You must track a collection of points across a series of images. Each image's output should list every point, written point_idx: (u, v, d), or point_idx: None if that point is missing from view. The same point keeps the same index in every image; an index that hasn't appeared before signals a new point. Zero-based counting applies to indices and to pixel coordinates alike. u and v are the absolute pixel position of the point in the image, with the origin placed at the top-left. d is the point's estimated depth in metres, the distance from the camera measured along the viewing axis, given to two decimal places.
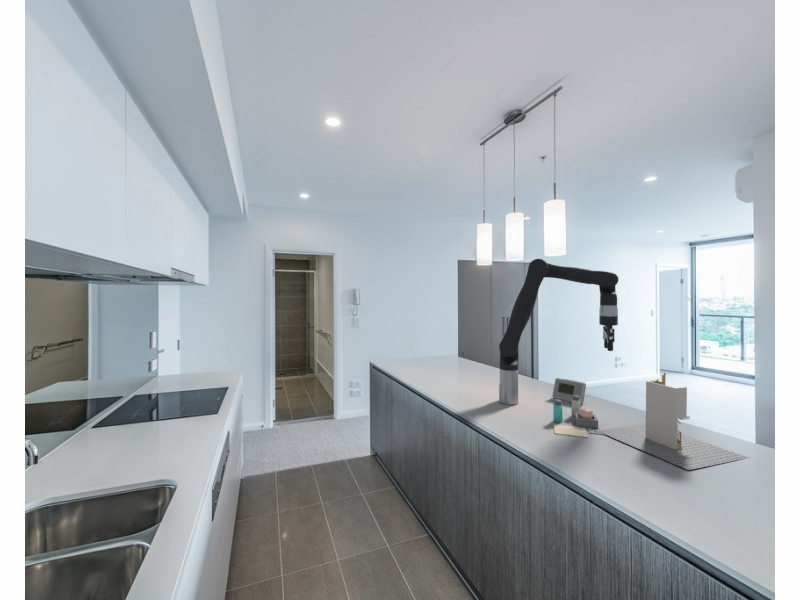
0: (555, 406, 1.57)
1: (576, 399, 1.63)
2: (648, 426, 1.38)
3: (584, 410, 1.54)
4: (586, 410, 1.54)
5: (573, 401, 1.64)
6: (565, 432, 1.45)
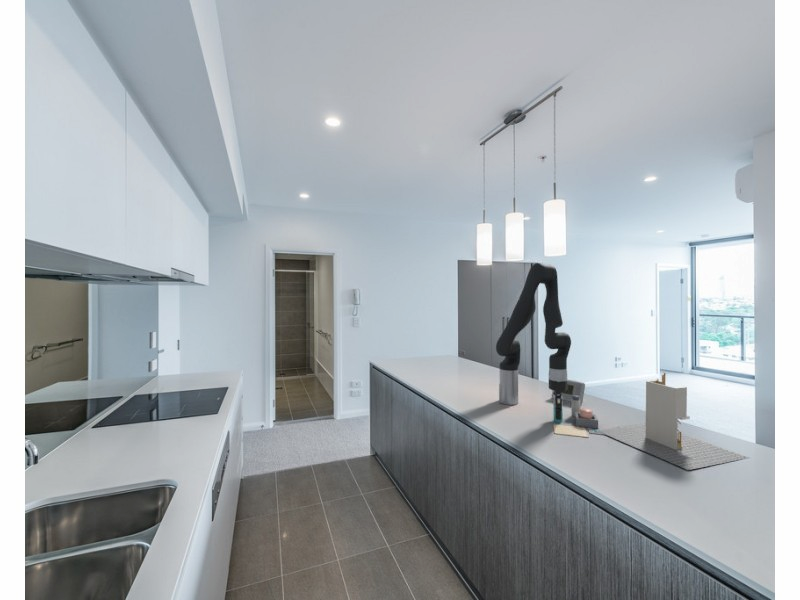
0: None
1: (576, 399, 1.63)
2: (648, 426, 1.38)
3: (584, 410, 1.54)
4: (586, 410, 1.54)
5: (573, 401, 1.64)
6: (565, 432, 1.45)
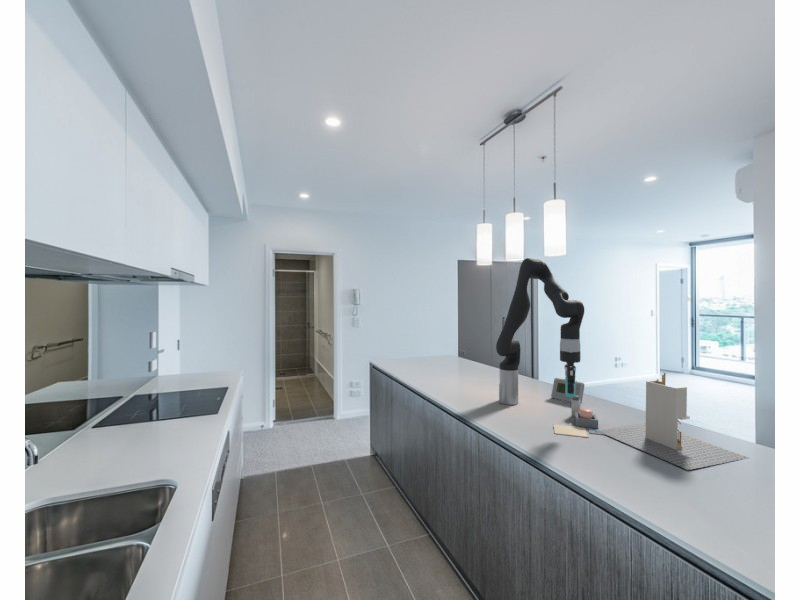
0: None
1: (576, 399, 1.63)
2: (648, 426, 1.38)
3: (584, 410, 1.54)
4: (586, 410, 1.54)
5: (573, 401, 1.64)
6: (565, 432, 1.45)
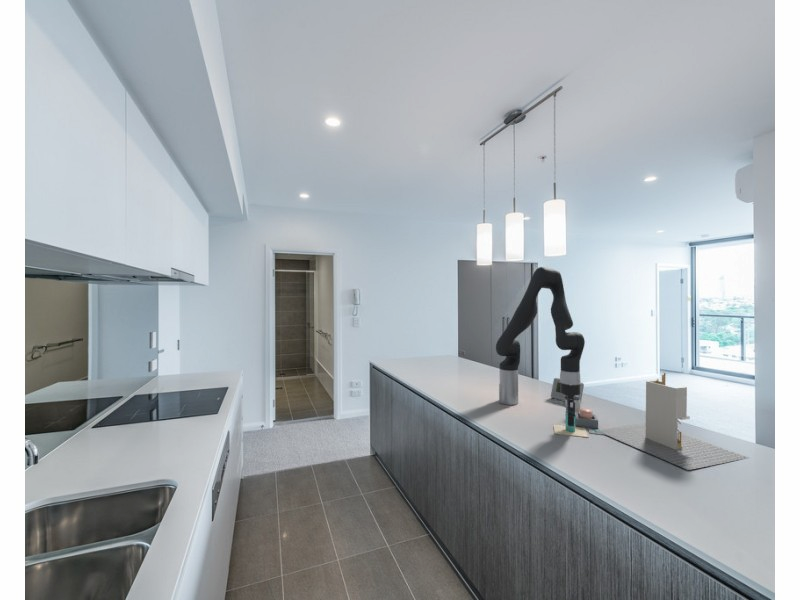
0: None
1: (576, 399, 1.63)
2: (648, 426, 1.38)
3: (584, 410, 1.54)
4: (586, 410, 1.54)
5: None
6: (565, 432, 1.45)
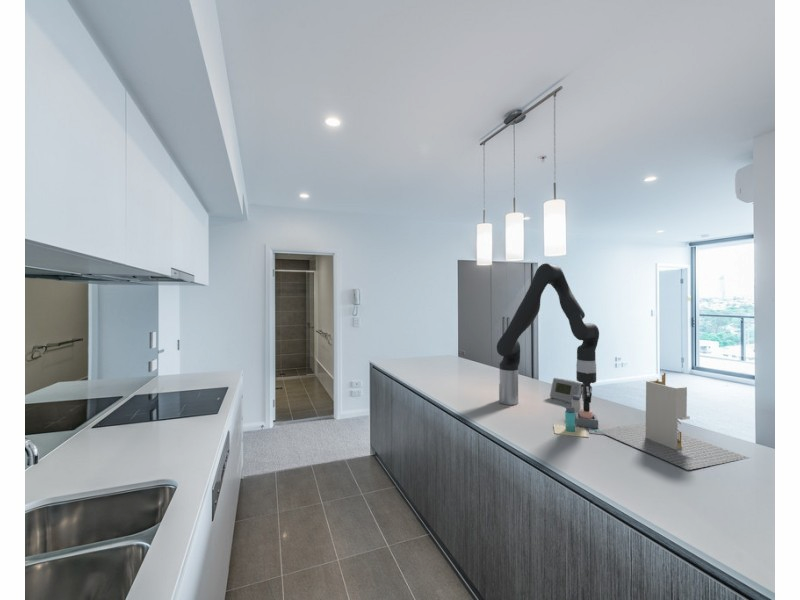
0: (567, 414, 1.46)
1: (576, 399, 1.63)
2: (648, 426, 1.38)
3: (584, 411, 1.54)
4: (586, 411, 1.54)
5: (573, 401, 1.64)
6: (565, 432, 1.45)
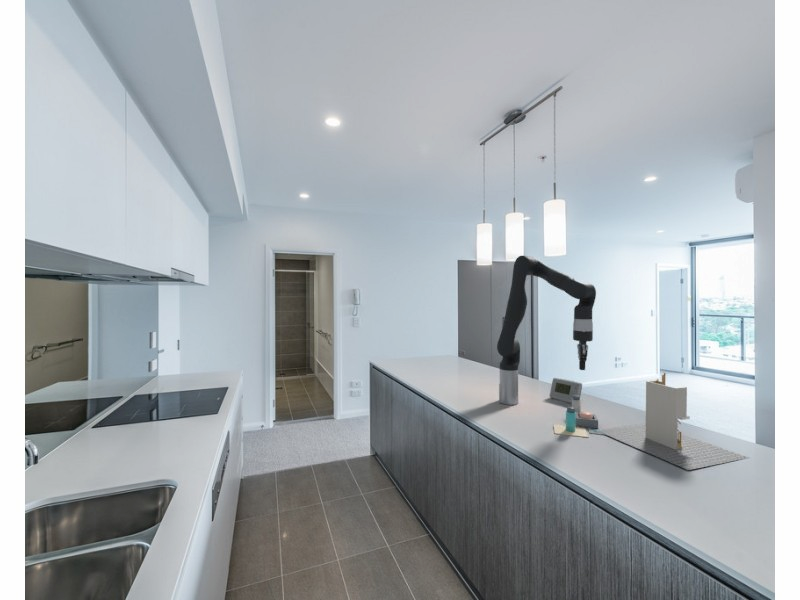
0: (568, 414, 1.46)
1: (577, 399, 1.63)
2: (648, 426, 1.38)
3: (584, 413, 1.54)
4: (586, 413, 1.54)
5: (574, 401, 1.64)
6: (565, 432, 1.45)
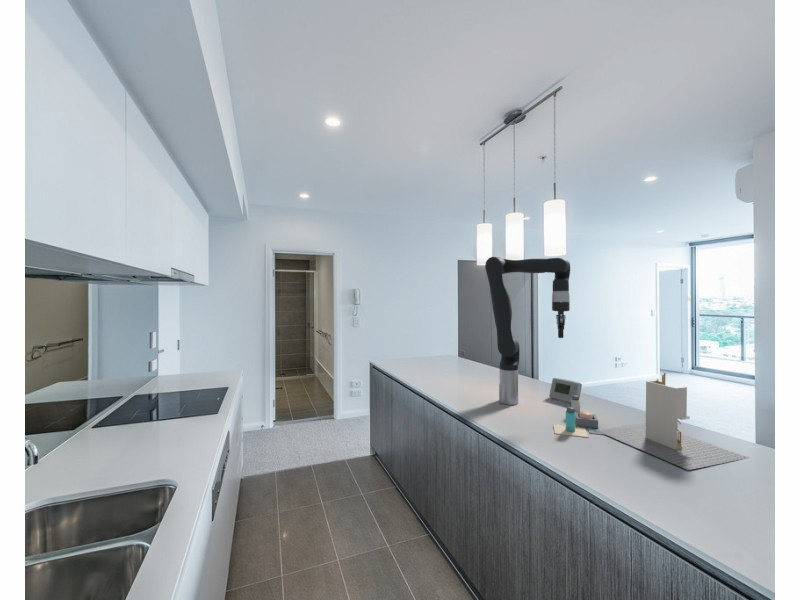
0: (567, 414, 1.46)
1: (576, 399, 1.63)
2: (648, 426, 1.38)
3: (584, 413, 1.54)
4: (586, 413, 1.54)
5: (573, 401, 1.64)
6: (565, 432, 1.45)
